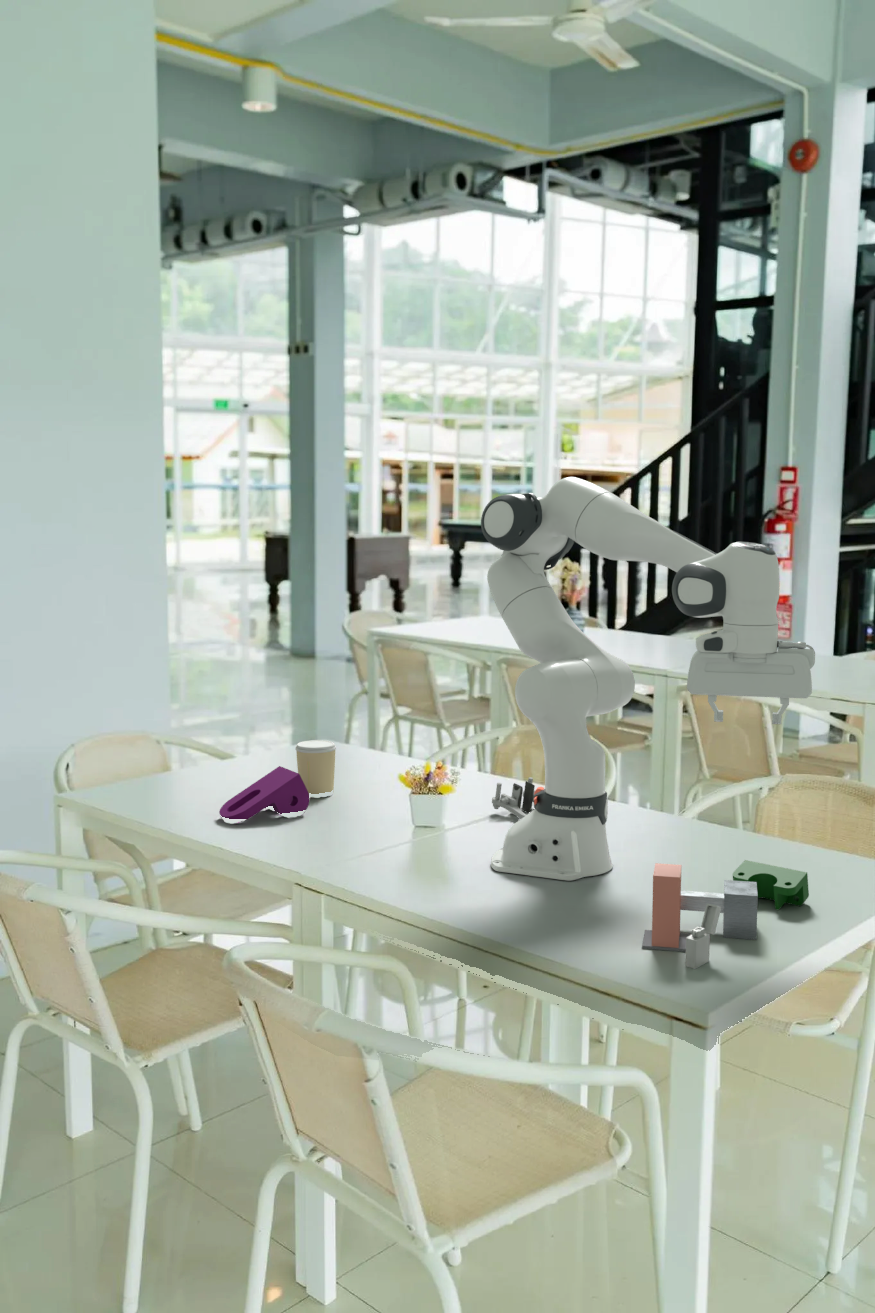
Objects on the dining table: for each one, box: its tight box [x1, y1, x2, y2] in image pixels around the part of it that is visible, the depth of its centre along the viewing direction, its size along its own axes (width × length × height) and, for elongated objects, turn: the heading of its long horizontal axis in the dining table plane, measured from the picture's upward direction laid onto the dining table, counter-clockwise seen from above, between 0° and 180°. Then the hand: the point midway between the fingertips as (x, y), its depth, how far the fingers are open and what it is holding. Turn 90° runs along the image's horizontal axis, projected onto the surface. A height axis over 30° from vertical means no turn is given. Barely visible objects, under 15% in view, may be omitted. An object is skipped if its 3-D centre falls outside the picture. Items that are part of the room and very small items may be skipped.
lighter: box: [684, 904, 721, 969], centre depth 175 cm, size 7×2×8 cm, turn 137°
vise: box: [680, 879, 759, 941], centre depth 189 cm, size 16×7×7 cm, turn 77°
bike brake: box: [491, 776, 536, 820], centre depth 255 cm, size 14×7×20 cm
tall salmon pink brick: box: [651, 862, 683, 948], centre depth 182 cm, size 4×6×11 cm, turn 167°
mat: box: [641, 929, 691, 953], centre depth 183 cm, size 7×7×1 cm
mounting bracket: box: [218, 765, 310, 820], centre depth 257 cm, size 9×8×18 cm
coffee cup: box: [295, 739, 337, 794], centre depth 276 cm, size 9×9×12 cm
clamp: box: [732, 859, 810, 911], centre depth 201 cm, size 12×6×9 cm, turn 44°
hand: (747, 722), depth 199 cm, fingers open, 8 cm apart
